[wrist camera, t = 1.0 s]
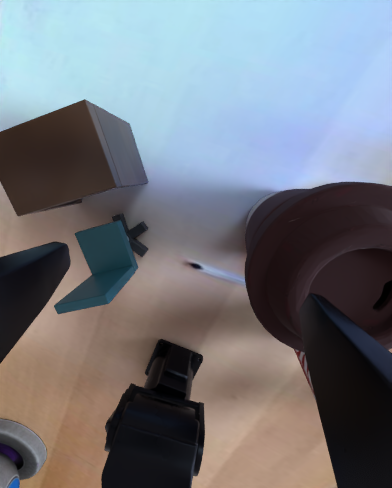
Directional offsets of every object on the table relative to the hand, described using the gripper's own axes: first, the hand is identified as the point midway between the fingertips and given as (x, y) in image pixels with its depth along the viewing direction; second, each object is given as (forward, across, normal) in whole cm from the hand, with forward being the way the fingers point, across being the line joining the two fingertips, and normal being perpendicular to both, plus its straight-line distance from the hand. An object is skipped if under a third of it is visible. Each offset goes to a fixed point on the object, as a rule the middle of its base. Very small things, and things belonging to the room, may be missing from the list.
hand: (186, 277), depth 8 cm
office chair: (+16, +8, +9) cm, 20 cm away
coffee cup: (+17, -8, +4) cm, 19 cm away
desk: (+18, +12, +2) cm, 21 cm away
